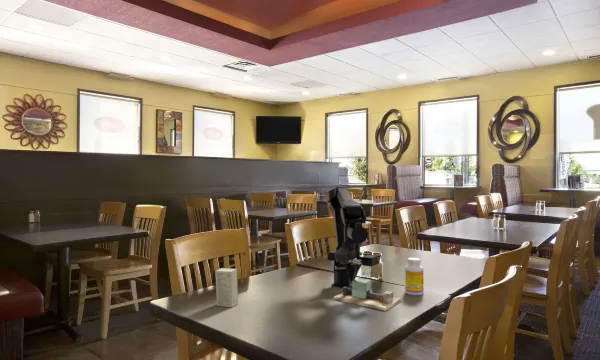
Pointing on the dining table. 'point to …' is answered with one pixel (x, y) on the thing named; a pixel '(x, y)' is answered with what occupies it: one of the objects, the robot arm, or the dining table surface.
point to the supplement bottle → (414, 277)
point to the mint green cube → (361, 287)
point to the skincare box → (226, 287)
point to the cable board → (369, 299)
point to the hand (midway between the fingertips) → (352, 281)
